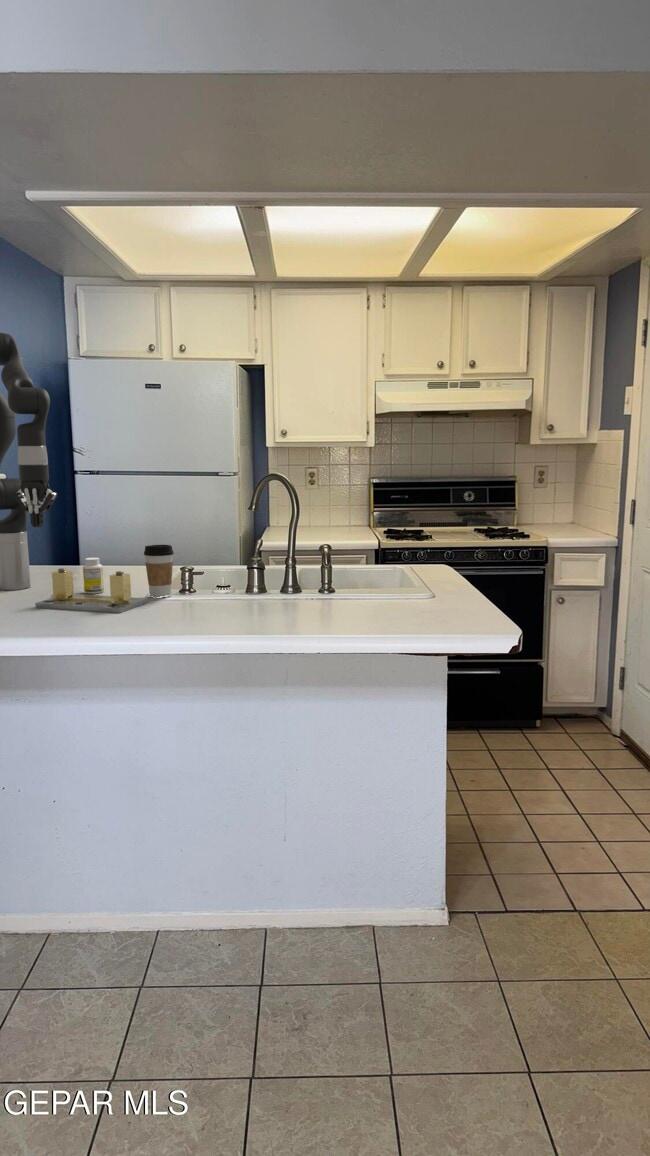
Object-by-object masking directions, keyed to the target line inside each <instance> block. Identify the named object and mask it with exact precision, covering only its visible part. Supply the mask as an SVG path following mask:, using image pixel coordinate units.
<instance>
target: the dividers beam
mask: <svg viewBox="0 0 650 1156" xmlns="http://www.w3.org/2000/svg"><path fill="white" fill-rule="evenodd" d="M124 572H125V571H123V570H122V571H121V570H119V571H117V570H116V571H115V573H114V574H110V575H109V587H110V588H109V591H110V596H111V598H110V599H102V598H86V597H70V596H67V597H68V599H66V600H78V601H94V602H110V603H111V605H115V603H126V604H130V603H133V600H127V599H130V598H131V597H132V591H131V590H132V589H131V587H132V585H131V573H124ZM63 600H65V599H63Z"/></svg>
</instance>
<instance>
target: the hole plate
mask: <svg viewBox="0 0 650 1156" xmlns="http://www.w3.org/2000/svg"><path fill="white" fill-rule="evenodd" d="M74 597H86V598H102V599H110V598H111V595H96V594H81V593H74ZM148 599H149V598H147V597H133V596H131V598H130V599H127V600H133V603H130V604H126V603H115V605H111V603H110V602H94V601H78V600H63V599H56V600H55V601H53V598H51V597H50V598H47V599H44V600H41V601H37V602H35V603H34V606H35V608H37V609H39V608H40V609H55V610H69V611H70V610H71V611H81V612H82V611H84V612H98V613H100V612H101V613H114V614H122V613H124V612H127V611H129V610H133V609H135V608H138V607H140V606H142V605H145V604H149V600H148Z"/></svg>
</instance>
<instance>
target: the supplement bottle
mask: <svg viewBox="0 0 650 1156" xmlns="http://www.w3.org/2000/svg"><path fill="white" fill-rule="evenodd" d="M84 562H85V563H84V565H83V566H82V573H83V574H82V575H83V590H84V593H85V594H86V595H96V594H101V593H103V592H104V590H105V589H104V572H103V569H104V568H103V564H101V563H100V557H87V558H84Z"/></svg>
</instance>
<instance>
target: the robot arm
mask: <svg viewBox="0 0 650 1156" xmlns="http://www.w3.org/2000/svg"><path fill="white" fill-rule="evenodd" d="M19 350H20V349H19V347H18V345H17V342H16V339H15V338H14V336H12V335H11V334H9V333H5V332H0V366H3V368H2V370H1V373H0V374H1V375H0V378H1V381H2V384H3V385H4V387H5V389H6V390H7V397H6V396H5V394H3V392H2V391H1V390H0V468H1V466H2V462H3V460H4V458H5V455H6V454H7V452H8V450H9V449H10V447H11V446H12V443H13V441H14V440H15V437H16V435H17V463H18V478H0V511H2V510H3V511H4V510H10V513H9V515H8V516H6V517H4V518H3V519H1V520H0V590H4V591H5V590H6V591H15V590H25V589H27V588H31V573H30V572H31V571H30V559H29V558H30V557H29V545H28V543H29V542H28V531H27V523H28V513H29V515H30V517H29V518H30V525H31V526H32V528H42V527H43V525H44V513H45V512H49V511H50V509H51V508H52V506H53V504H54V502H55V501H56V500H57V497H58V493H57V492H54V491H52V490H51V488H50V484H49V479H50V477H49V476H50V475H49V474H50V473H49V460H48V451H47V444H46V425H47V419H48V414H49V411H50V405H51V398H50V395H49V393H48V391H47V389H46V390H45V389H44V388H42V387H35V385H34V382H33V380H32V379H31V377H30V375H29V374H28V372H27V371H26V369H25V367H24V362H23V359H22V356H21V354H20V351H19ZM15 414H17V415H34V418H33V420H32V421H30V422H25V423H21V424H18V426H17V428H16V415H15ZM27 512H28V513H27Z"/></svg>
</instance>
